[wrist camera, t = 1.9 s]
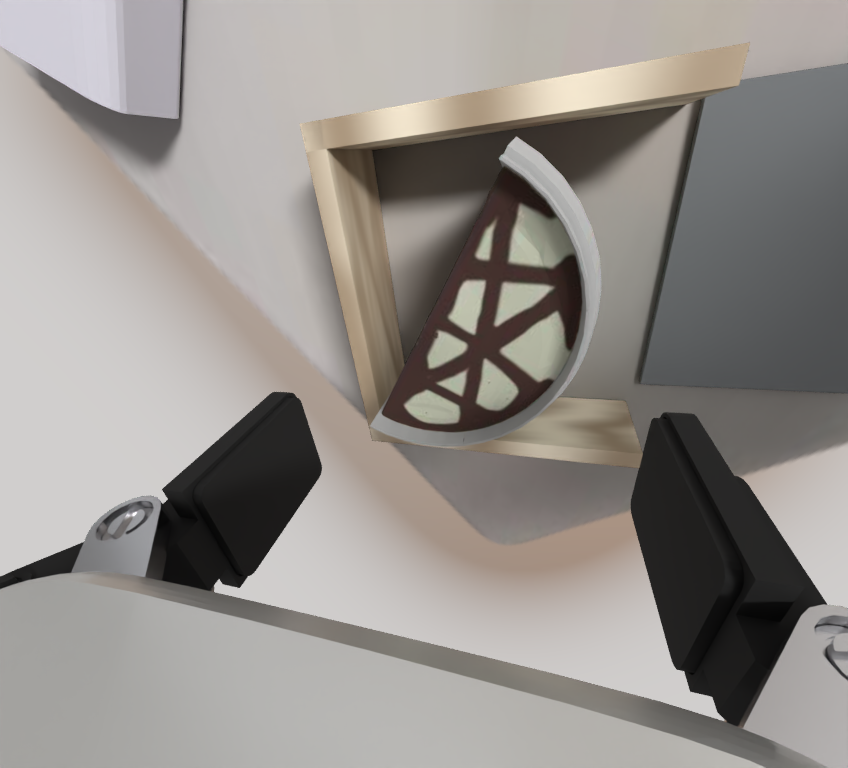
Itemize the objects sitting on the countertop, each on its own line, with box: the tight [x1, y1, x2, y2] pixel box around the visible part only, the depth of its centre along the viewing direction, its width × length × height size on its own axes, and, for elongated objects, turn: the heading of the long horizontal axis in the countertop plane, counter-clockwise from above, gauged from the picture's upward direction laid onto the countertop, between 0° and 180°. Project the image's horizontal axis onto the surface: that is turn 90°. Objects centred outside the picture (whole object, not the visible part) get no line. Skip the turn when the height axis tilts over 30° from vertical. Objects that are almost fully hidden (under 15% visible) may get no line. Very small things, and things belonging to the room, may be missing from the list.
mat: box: [639, 63, 848, 393], centre depth 17 cm, size 10×14×1 cm
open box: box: [300, 43, 750, 468], centre depth 19 cm, size 16×17×5 cm
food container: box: [370, 137, 602, 447], centre depth 17 cm, size 12×6×10 cm, turn 156°
